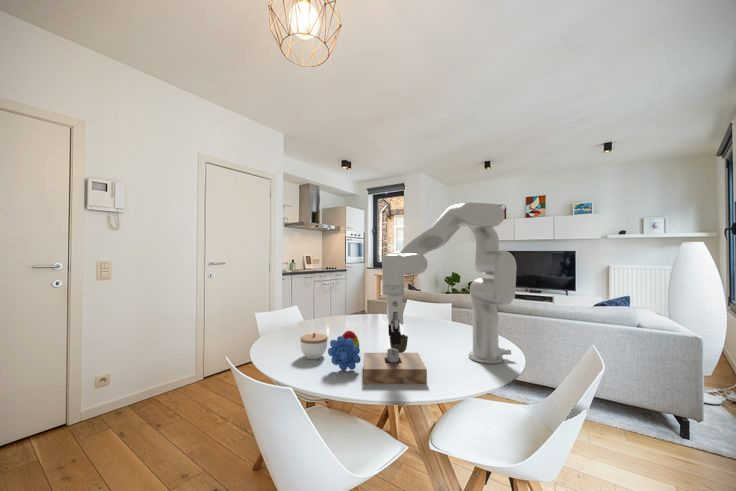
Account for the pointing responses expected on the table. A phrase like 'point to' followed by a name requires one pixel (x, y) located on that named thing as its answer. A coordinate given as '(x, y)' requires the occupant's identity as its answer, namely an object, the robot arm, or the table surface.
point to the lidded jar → (313, 345)
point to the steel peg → (392, 355)
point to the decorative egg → (351, 337)
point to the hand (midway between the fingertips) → (394, 339)
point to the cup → (401, 346)
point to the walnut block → (394, 369)
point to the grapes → (344, 353)
